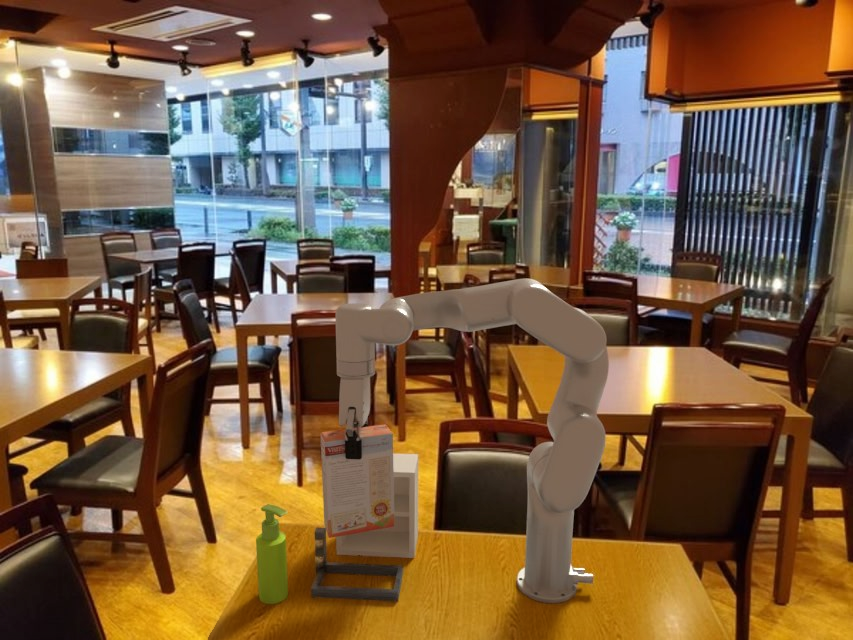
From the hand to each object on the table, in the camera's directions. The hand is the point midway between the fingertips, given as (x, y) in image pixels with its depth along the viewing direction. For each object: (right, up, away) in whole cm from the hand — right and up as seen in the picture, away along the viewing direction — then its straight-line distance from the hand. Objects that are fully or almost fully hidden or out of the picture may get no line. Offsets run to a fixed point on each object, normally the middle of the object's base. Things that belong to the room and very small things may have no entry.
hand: (357, 449), depth 130 cm
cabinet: (+3, -27, +22) cm, 35 cm away
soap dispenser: (-17, -31, +3) cm, 36 cm away
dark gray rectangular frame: (0, -30, +6) cm, 31 cm away
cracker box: (0, -17, +3) cm, 17 cm away
